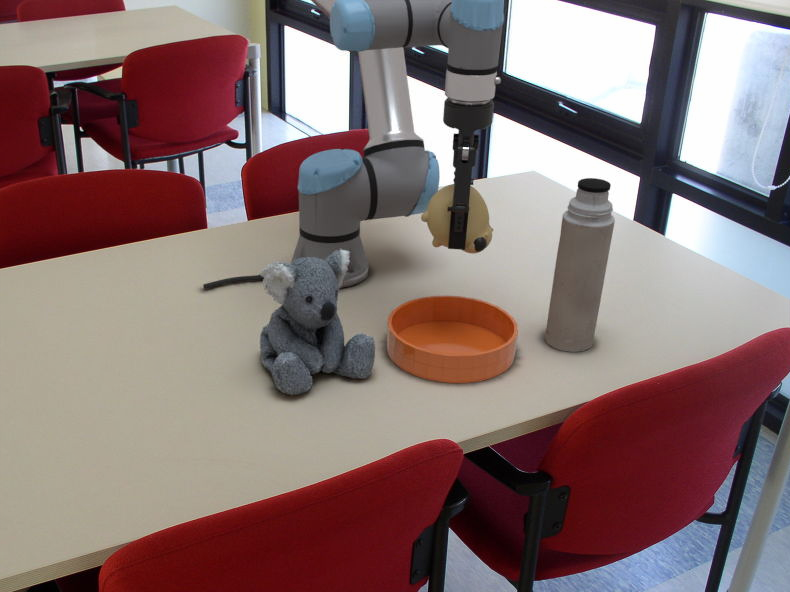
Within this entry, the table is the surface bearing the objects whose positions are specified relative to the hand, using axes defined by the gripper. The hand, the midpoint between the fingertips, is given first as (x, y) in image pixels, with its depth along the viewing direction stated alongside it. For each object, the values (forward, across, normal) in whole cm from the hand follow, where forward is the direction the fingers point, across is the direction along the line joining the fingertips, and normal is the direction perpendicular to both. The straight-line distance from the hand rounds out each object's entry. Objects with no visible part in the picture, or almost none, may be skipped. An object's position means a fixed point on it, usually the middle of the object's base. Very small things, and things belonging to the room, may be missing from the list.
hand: (457, 235), depth 149 cm
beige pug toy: (+2, 0, 0) cm, 2 cm away
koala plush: (+17, -16, +22) cm, 33 cm away
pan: (+17, -8, 0) cm, 19 cm away
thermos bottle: (+17, -2, -20) cm, 27 cm away
